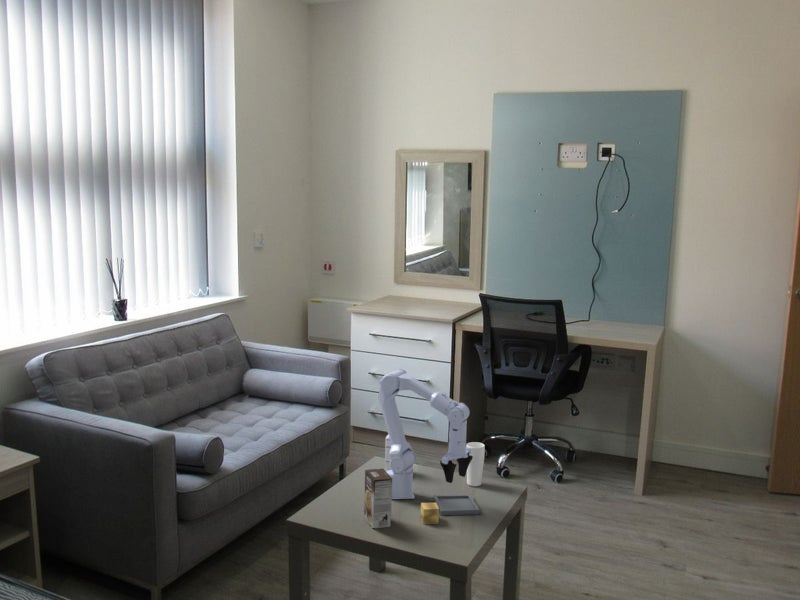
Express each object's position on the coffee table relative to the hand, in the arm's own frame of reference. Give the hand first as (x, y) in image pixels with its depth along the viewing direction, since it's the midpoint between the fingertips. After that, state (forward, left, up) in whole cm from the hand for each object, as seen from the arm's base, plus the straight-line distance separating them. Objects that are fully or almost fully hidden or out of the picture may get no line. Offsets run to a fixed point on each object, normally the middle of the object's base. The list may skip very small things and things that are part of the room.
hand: (455, 479), depth 241 cm
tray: (+1, 0, -10) cm, 10 cm away
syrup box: (-16, +33, -10) cm, 38 cm away
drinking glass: (+12, +19, -10) cm, 24 cm away
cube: (-10, -10, -10) cm, 18 cm away
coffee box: (-27, -10, -10) cm, 31 cm away
